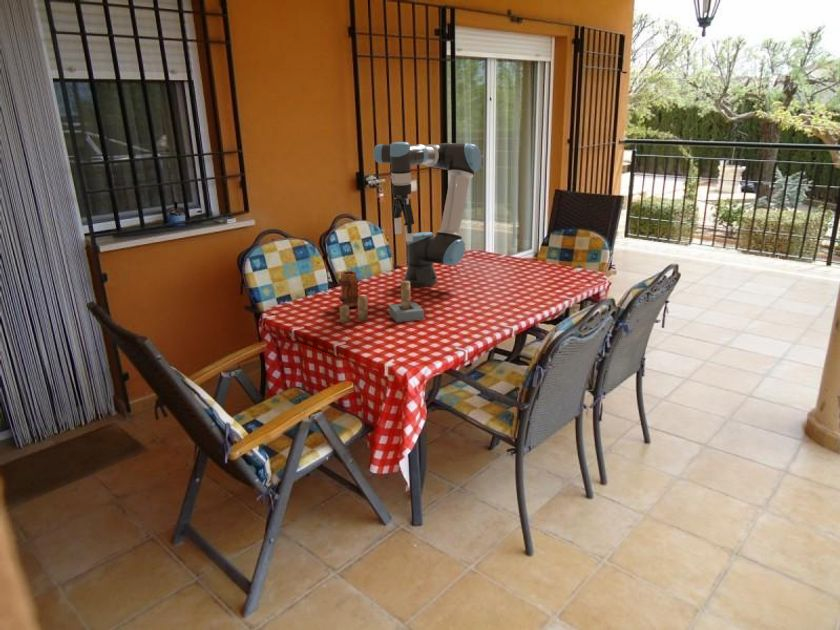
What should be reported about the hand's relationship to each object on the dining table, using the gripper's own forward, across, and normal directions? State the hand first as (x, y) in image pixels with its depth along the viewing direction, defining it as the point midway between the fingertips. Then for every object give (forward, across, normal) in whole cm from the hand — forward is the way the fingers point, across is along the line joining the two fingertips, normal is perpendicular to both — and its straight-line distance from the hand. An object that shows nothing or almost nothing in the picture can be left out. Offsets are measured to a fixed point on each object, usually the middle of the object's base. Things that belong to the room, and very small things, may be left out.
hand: (403, 237), depth 249 cm
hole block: (+28, +14, -5) cm, 32 cm away
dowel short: (+28, +11, -28) cm, 41 cm away
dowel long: (+28, +13, -5) cm, 31 cm away
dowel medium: (+28, +11, -22) cm, 37 cm away
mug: (+28, -5, -22) cm, 36 cm away
